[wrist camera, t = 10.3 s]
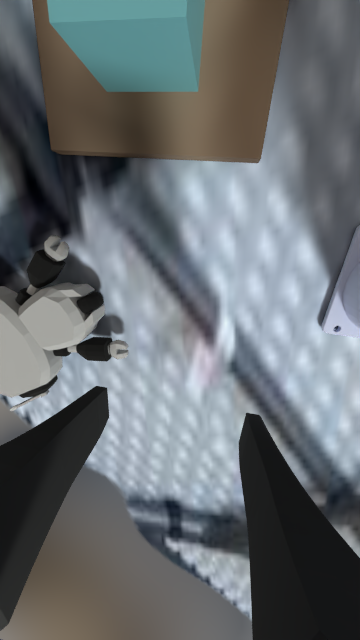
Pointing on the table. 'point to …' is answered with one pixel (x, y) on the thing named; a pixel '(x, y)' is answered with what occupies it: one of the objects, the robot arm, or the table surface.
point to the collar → (134, 41)
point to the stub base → (171, 93)
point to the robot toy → (48, 327)
